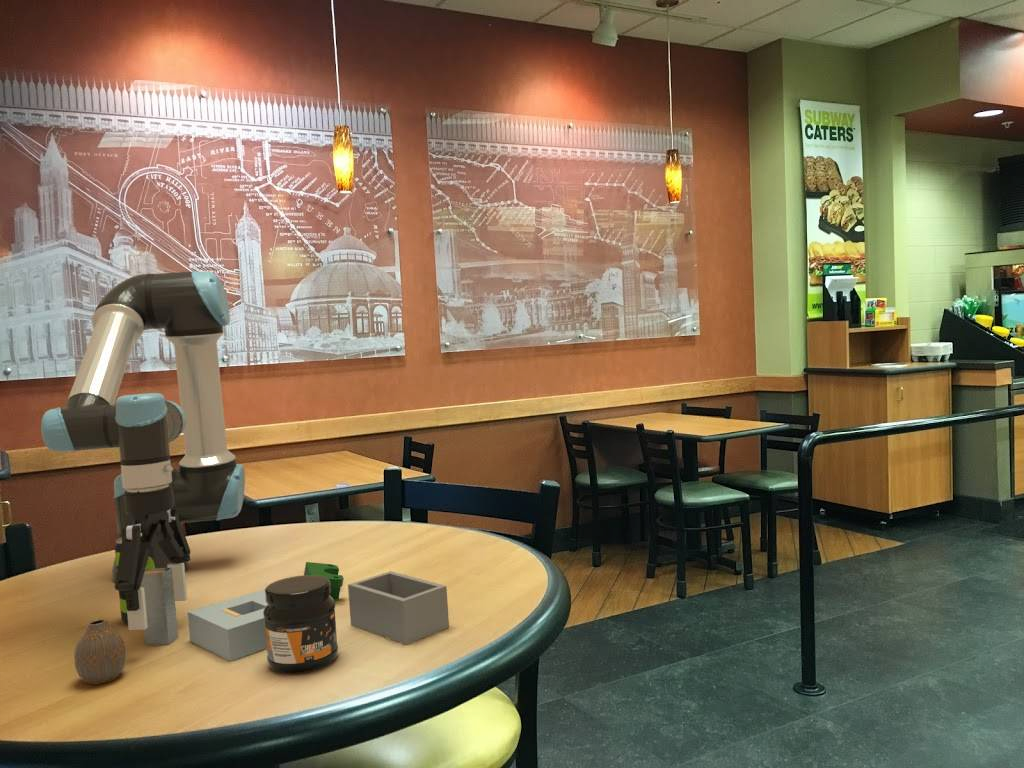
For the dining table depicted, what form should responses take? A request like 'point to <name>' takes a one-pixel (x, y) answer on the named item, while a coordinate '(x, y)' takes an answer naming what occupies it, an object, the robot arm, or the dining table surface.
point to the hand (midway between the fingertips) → (159, 614)
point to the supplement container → (300, 624)
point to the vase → (99, 653)
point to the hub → (231, 626)
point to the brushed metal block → (159, 606)
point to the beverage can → (122, 593)
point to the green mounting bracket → (328, 572)
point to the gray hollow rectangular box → (398, 606)
